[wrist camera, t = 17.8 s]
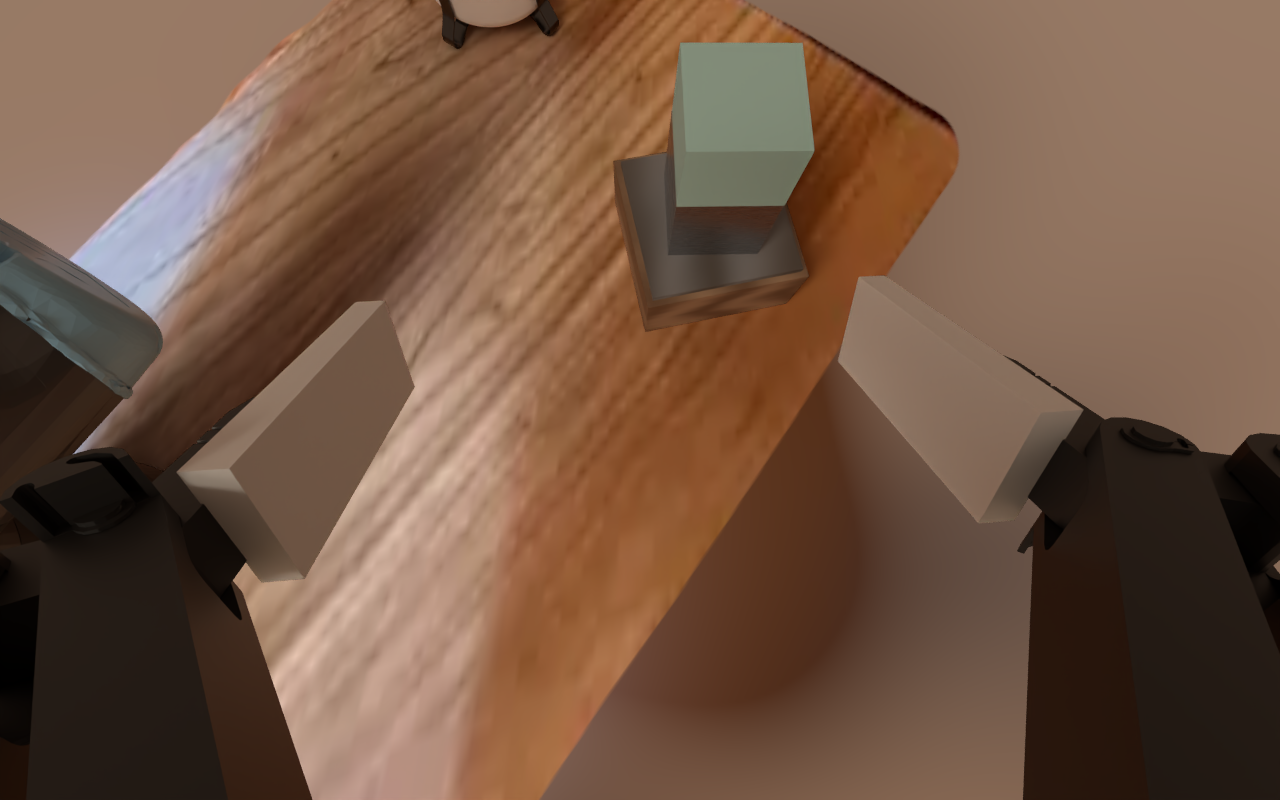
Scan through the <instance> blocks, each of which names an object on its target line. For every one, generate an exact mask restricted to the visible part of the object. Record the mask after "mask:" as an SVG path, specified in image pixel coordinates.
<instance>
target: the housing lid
mask: <svg viewBox="0 0 1280 800" xmlns="http://www.w3.org/2000/svg"><path fill="white" fill-rule="evenodd" d="M672 123H673V144H674V165H675V186H676V207H706V206H785V204H786V202H787V200H788V198H789V197H790V195H791V193H792V191H793V189H794V188H795V186H796V184H797V182H798V180H799V178H800V177H801V175H802V173H803V171H804V169H805V168H806V166H807V164H808V162H809V160H810V159H811V157H812V155H813V153H814V151H815V150H814V141H813V132H812V124H811V115H810V106H809V97H808V88H807V79H806V70H805V61H804V52H803V43H680V49H679V58H678V66H677V74H676V83H675V91H674V100H673V108H672Z"/></svg>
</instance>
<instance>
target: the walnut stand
mask: <svg viewBox="0 0 1280 800" xmlns="http://www.w3.org/2000/svg"><path fill="white" fill-rule="evenodd" d="M666 156H667V152H663V153H657V154H652V155H646V156H640V157H634V158H629V159H623V160H617V161H614V184H615V203H616V207H617V211H618V216H619V220H620V224H621V229H622V233H623V237H624V242H625V246H626V250H627V255H628V259H629V263H630V268H631V272H632V276H633V280H634V285H635V289H636V293H637V298H638V302H639V306H640V311H641V315H642V319H643V324H644V328H645V332H646V331H651V330H656V329H661V328H666V327H671V326H676V325H681V324H686V323H691V322H696V321H701V320H706V319H711V318H716V317H721V316H726V315H731V314H736V313H741V312H746V311H751V310H756V309H761V308H766V307H771V306H776V305H781V304H786V303H787V302H788V301H789V299H790V298H791V297H792V296H793V295H794V293H795V292H796V291H797V290H798V289H799V288H800V286H801V285H802V284H803V283H804V282H805V280H806V279H807V278H808V277H809V274H808V271H807V268H806V264H805V261H804V258H803V255H802V251H801V248H800V245H799V242H798V238H797V235H796V232H795V228H794V225H793V222H792V219H791V215H790V212H789V209H788V206H787V202H786V204H785V206H783V208H782V210H781V212H780V213H779V215H778V217H777V219H776V221H775V222H774V224H773V226H772V228H771V230H770V232H769V233H768V235H767V237H766V239H765V241H764V242H763V244H762V246H761V248H760V250H759V252H758V253H757V254H721V255H668V247H667V225H666V203H665V181H664V173H665V164H666Z"/></svg>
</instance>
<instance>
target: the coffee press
mask: <svg viewBox="0 0 1280 800" xmlns="http://www.w3.org/2000/svg"><path fill="white" fill-rule="evenodd" d="M436 1H437V2H438V4H439V5H440V6H441V7H442V12H443V26H442V37H443V40H444V41H445V42H446V43H448V44H450V45H451V46H453V47H455V48H456V49H460V48H461V47H462V45H463V43H464V39H465V34H466V30H467V27H468V25H469V24H471V25H474V26H480V27H501V26H506V25H510V24H513V23H516V22H518V21H520V20H522V19H524V18H526V17H527V16H529V15H530V16H531V17H532V18H533V19H534V21H535V22H536V23H537V25H538V26H539V28H540V29H541V31H542V32H543V33H544V34H545V35H547V36H551V35H552V33H553V32H554V31H555V30H556V29H557V28H558V26H559V20H558V18H557V16H556V14H555V13H554V11H553V9H552V7H551V5H550V3H549V1H548V0H436ZM454 17H455V18H456V21H455V18H454Z"/></svg>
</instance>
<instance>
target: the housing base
mask: <svg viewBox="0 0 1280 800" xmlns="http://www.w3.org/2000/svg"><path fill="white" fill-rule="evenodd" d="M664 181H665V203H666V225H667V247H668V255H721V254H757V253H758V252H759V250H760V248H761V246H762V244H763V242H764V241H765V239H766V237H767V235H768V233H769V232H770V230H771V228H772V226H773V224H774V222H775V221H776V219H777V217H778V215H779V213H780V212H781V210H782V208H783V206H706V207H676V186H675V165H674V144H673V123H672V113H671V122H670V130H669V139H668V147H667V156H666V164H665V173H664Z"/></svg>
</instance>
